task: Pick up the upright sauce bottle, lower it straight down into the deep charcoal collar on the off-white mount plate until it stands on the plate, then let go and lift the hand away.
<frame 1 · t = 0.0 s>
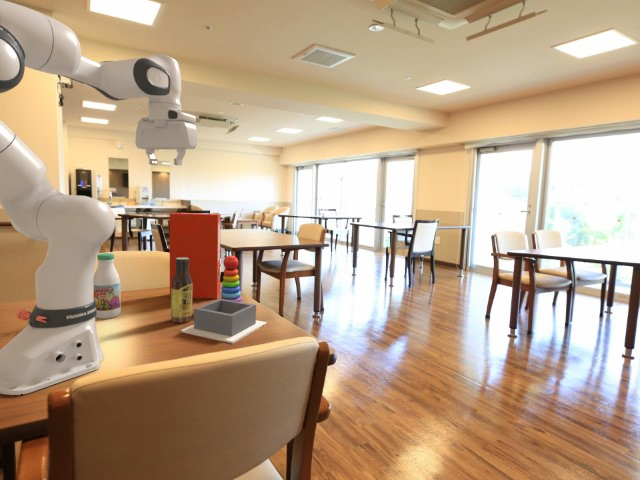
hand: (165, 165, 113), 48 cm above the table, fingers open, 8 cm apart
tall red box: (195, 296, 149), on the table
mount collar: (225, 327, 117), on the table
stacking toy: (230, 307, 137), on the table
milk bottle: (107, 316, 123), on the table
sauce bottle: (181, 320, 122), on the table
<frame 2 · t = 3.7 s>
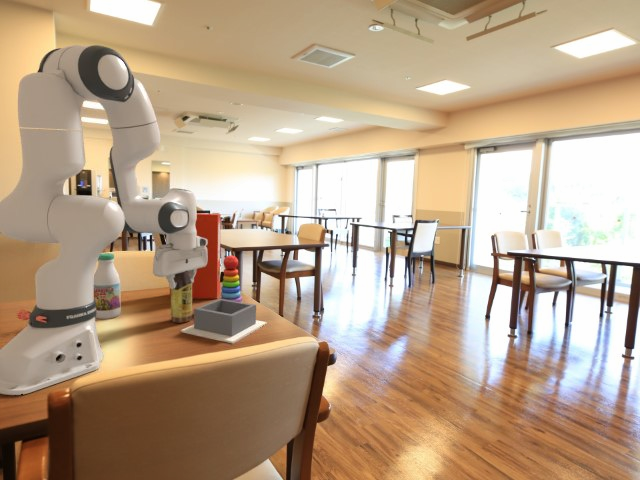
hand: (181, 285, 120), 11 cm above the table, fingers closed on sauce bottle, 6 cm apart
sauce bottle: (181, 320, 122), on the table, touching gripper
everything else where it was.
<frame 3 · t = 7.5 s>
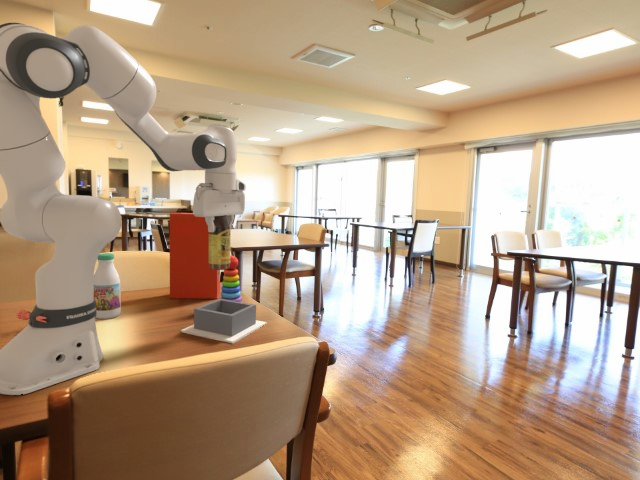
hand: (220, 231, 114), 29 cm above the table, fingers closed on sauce bottle, 6 cm apart
sauce bottle: (219, 269, 115), point 18 cm above the table, touching gripper
everything else where it was.
when the fingers open (12 cm above the table, at t = 11.6 s): sauce bottle stays where it is, resting on mount collar.
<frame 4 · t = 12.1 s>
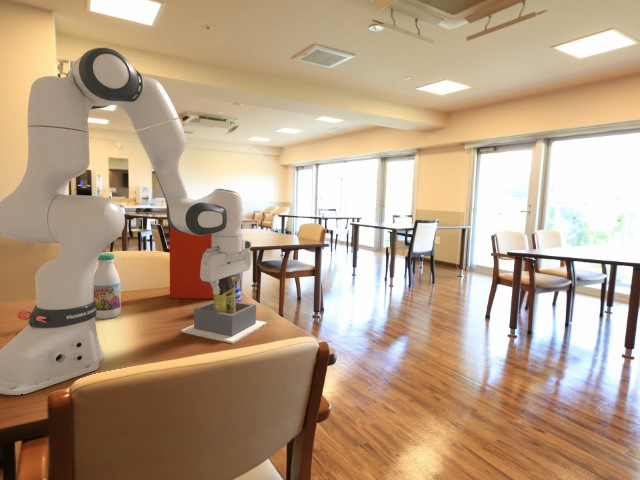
hand: (226, 290, 115), 12 cm above the table, fingers open, 8 cm apart
sauce bottle: (225, 325, 117), point 1 cm above the table, touching gripper, mount collar
everything else where it was.
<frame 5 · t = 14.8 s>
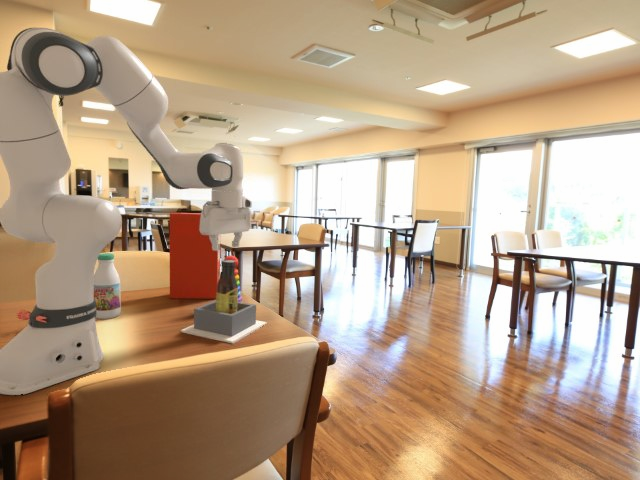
hand: (226, 248, 114), 24 cm above the table, fingers open, 8 cm apart
sauce bottle: (226, 326, 117), resting on mount collar
everything else where it was.
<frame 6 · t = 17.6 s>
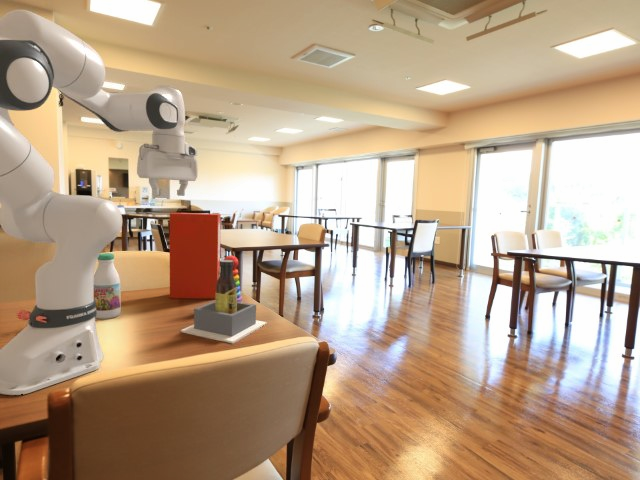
hand: (169, 195, 112), 39 cm above the table, fingers open, 8 cm apart
nothing on the table moved.
at the end: sauce bottle 0.3 cm off-centre on the mount collar, point 0.4 cm above the mount collar's base; sauce bottle tilted 1°; the gripper is holding nothing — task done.
